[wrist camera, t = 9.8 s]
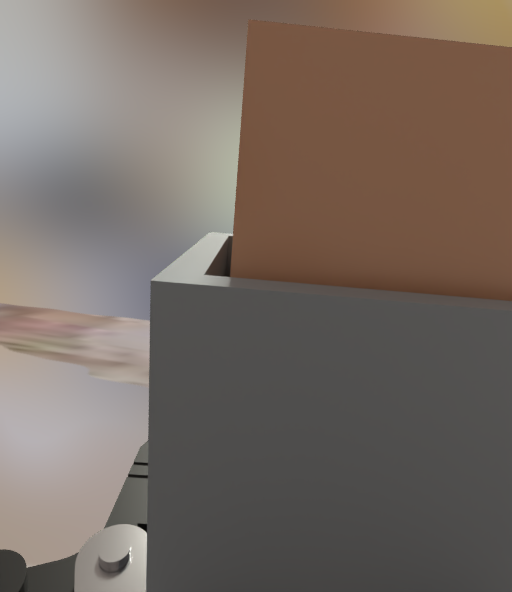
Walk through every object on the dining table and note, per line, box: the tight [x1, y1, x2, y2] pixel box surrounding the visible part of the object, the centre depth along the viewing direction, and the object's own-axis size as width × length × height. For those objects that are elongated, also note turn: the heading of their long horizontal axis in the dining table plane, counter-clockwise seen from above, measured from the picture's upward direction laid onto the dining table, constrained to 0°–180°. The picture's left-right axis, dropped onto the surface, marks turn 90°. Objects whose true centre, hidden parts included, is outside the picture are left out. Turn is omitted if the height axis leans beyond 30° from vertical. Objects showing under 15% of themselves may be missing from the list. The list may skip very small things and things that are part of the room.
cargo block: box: [230, 20, 512, 301], centre depth 7 cm, size 4×4×4 cm
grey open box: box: [146, 232, 512, 592], centre depth 8 cm, size 6×6×13 cm
